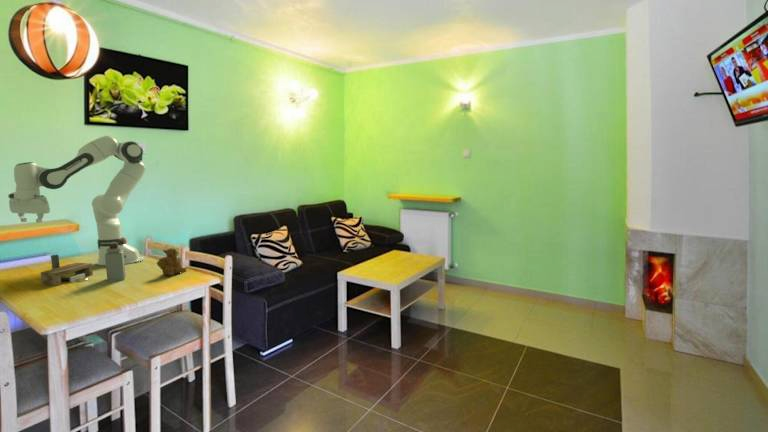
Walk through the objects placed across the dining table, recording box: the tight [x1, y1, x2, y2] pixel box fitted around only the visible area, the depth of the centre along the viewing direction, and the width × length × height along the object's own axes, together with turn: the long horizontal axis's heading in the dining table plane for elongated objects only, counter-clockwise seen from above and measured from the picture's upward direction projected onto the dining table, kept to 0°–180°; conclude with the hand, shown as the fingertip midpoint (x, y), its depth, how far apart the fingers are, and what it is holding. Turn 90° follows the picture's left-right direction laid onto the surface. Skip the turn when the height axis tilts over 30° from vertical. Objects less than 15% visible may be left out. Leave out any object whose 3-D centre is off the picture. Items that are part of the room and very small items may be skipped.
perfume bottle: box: [105, 243, 127, 283], centre depth 192 cm, size 7×7×18 cm
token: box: [76, 277, 89, 283], centre depth 191 cm, size 4×4×1 cm
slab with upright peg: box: [50, 254, 86, 283], centre depth 191 cm, size 14×7×12 cm, turn 80°
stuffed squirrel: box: [156, 247, 188, 277], centre depth 202 cm, size 10×14×13 cm
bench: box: [40, 262, 94, 286], centre depth 192 cm, size 9×18×6 cm, turn 170°
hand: (31, 222), depth 197 cm, fingers open, 8 cm apart
